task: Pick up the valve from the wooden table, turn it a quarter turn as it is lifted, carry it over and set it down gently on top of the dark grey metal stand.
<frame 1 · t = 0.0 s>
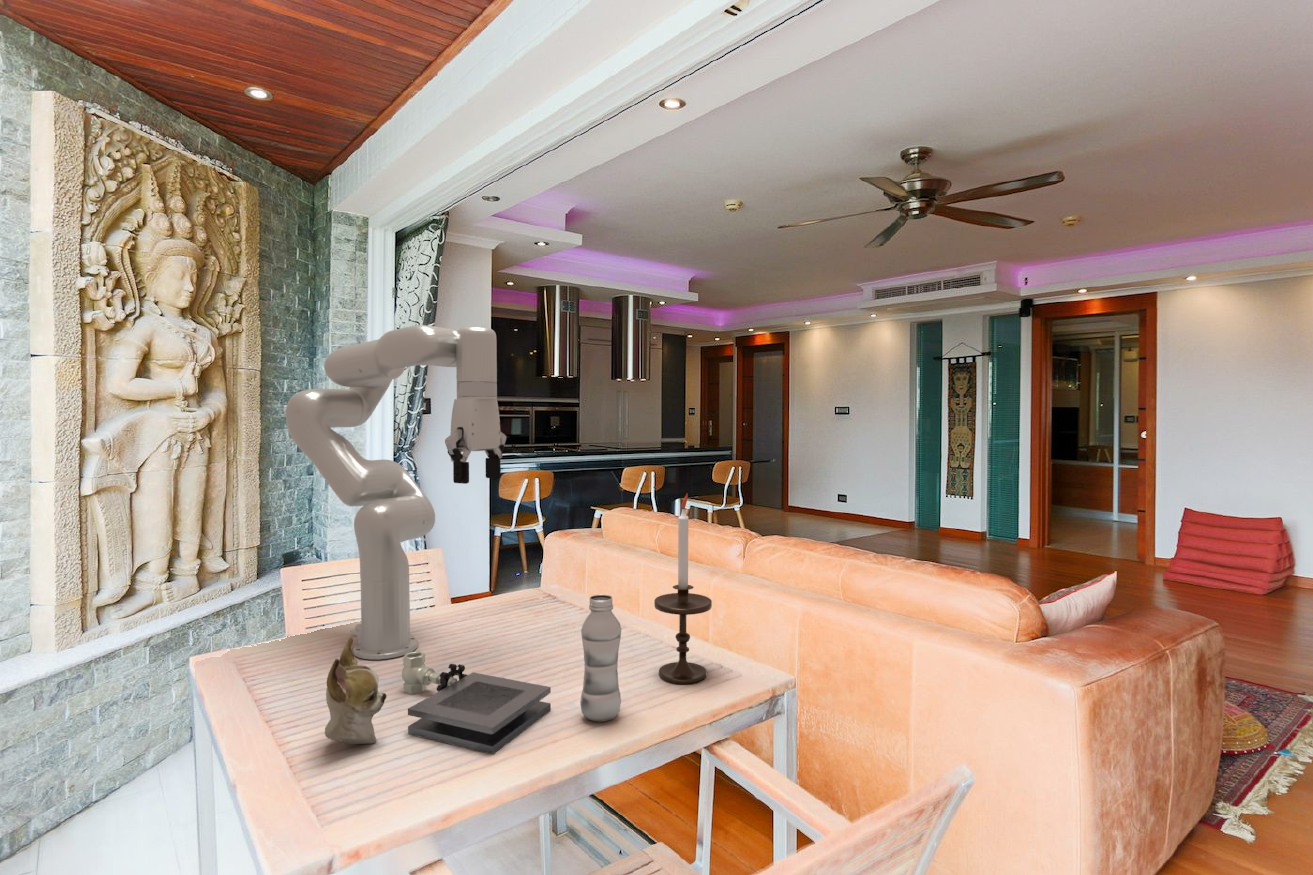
hand: (477, 480, 133), 37 cm above the table, tool pointing down, fingers open, 9 cm apart
candlestick: (682, 676, 131), on the table
plastic bottle: (600, 718, 113), on the table
stand: (482, 721, 112), on the table
valve: (430, 696, 122), on the table
ceramic sculpture: (356, 745, 104), on the table
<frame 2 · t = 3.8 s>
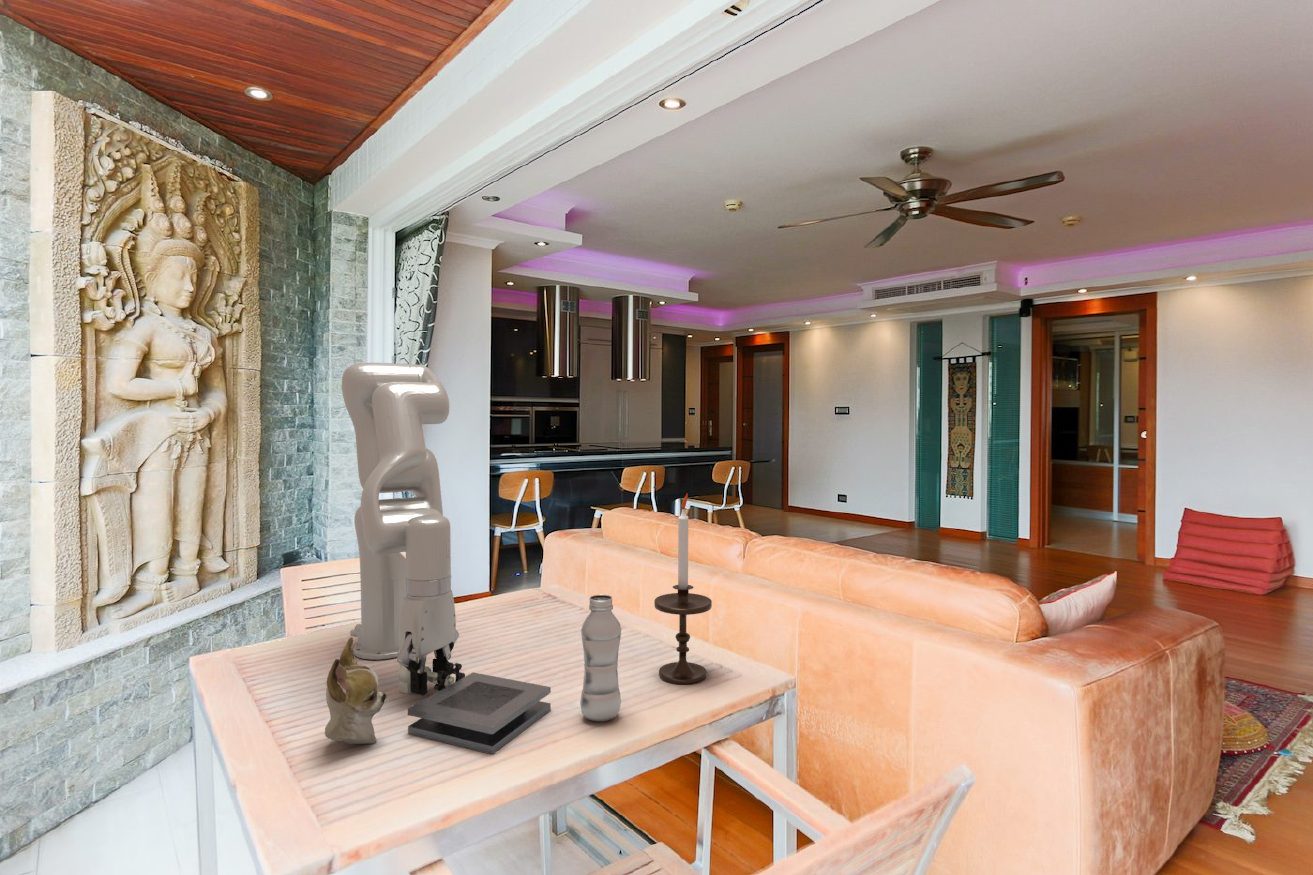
hand: (430, 686, 122), 1 cm above the table, tool pointing down, fingers closed on valve, 4 cm apart
valve: (426, 695, 123), on the table, touching gripper
everything else where it was.
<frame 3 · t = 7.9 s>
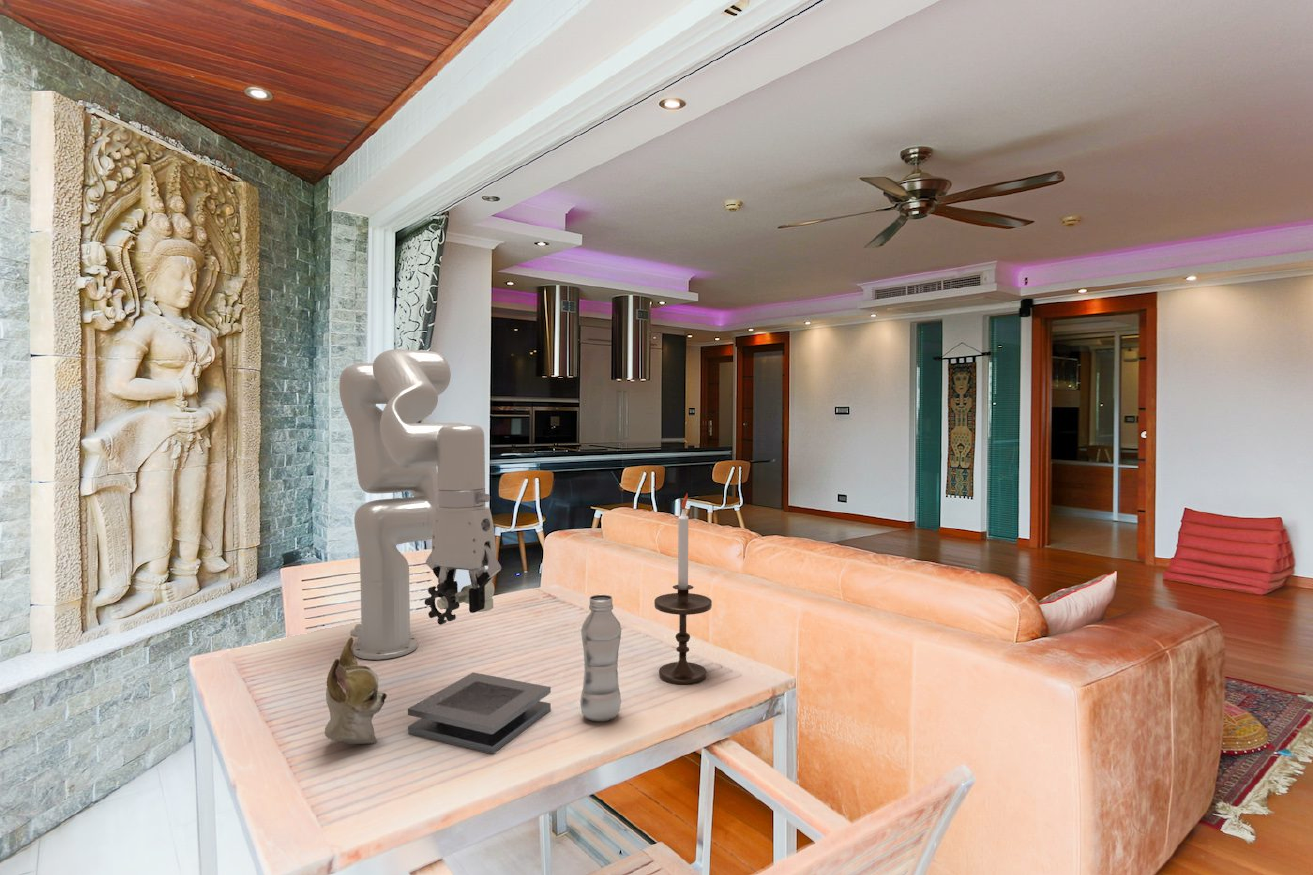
hand: (463, 607, 114), 18 cm above the table, tool pointing down, fingers closed on valve, 4 cm apart
valve: (466, 616, 115), point 16 cm above the table, touching gripper
everything else where it was.
when the fingers open (6 cm above the table, at t = 12.2 s): valve stays where it is, resting on stand.
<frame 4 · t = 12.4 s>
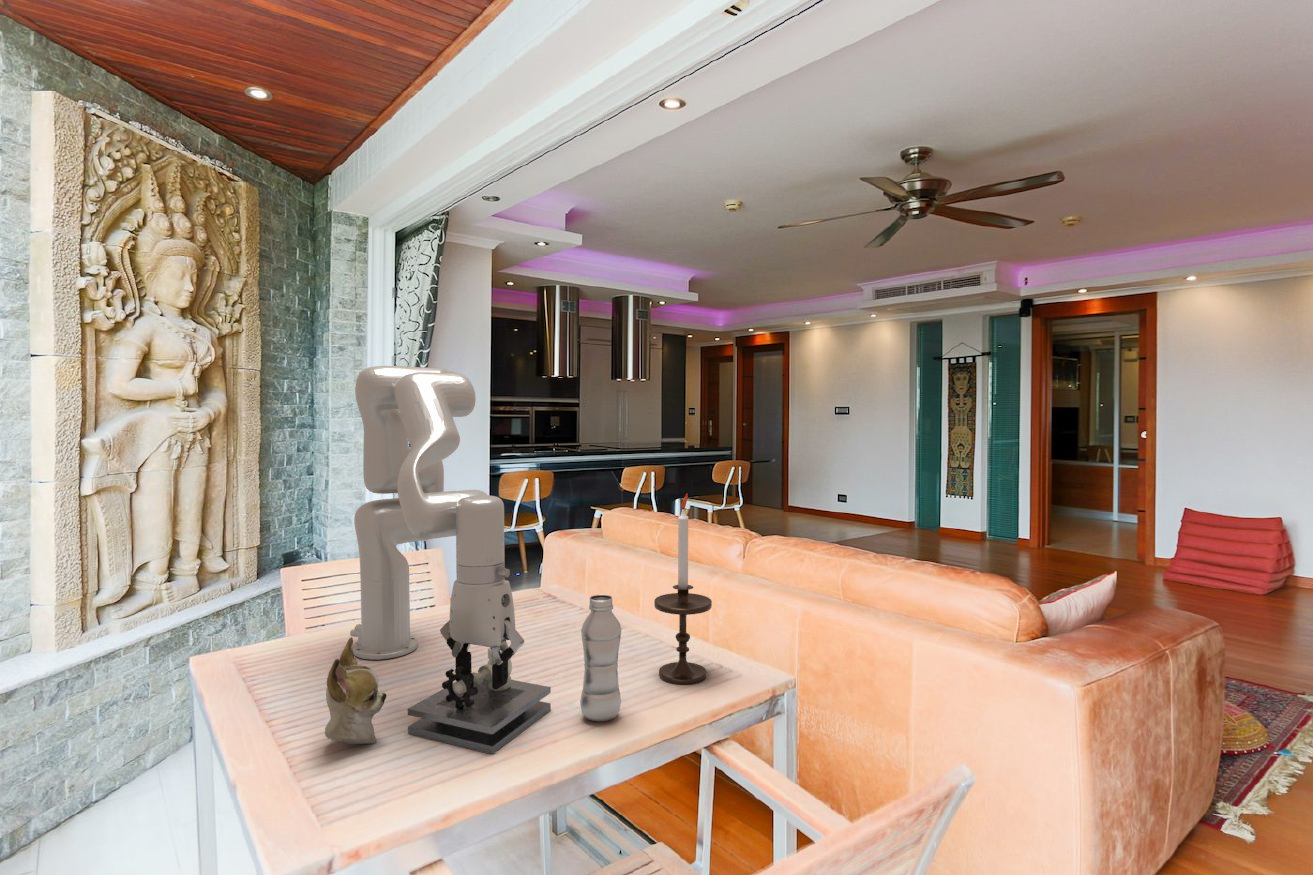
hand: (481, 681, 112), 7 cm above the table, tool pointing down, fingers open, 6 cm apart
valve: (483, 696, 112), point 4 cm above the table, touching stand
everything else where it was.
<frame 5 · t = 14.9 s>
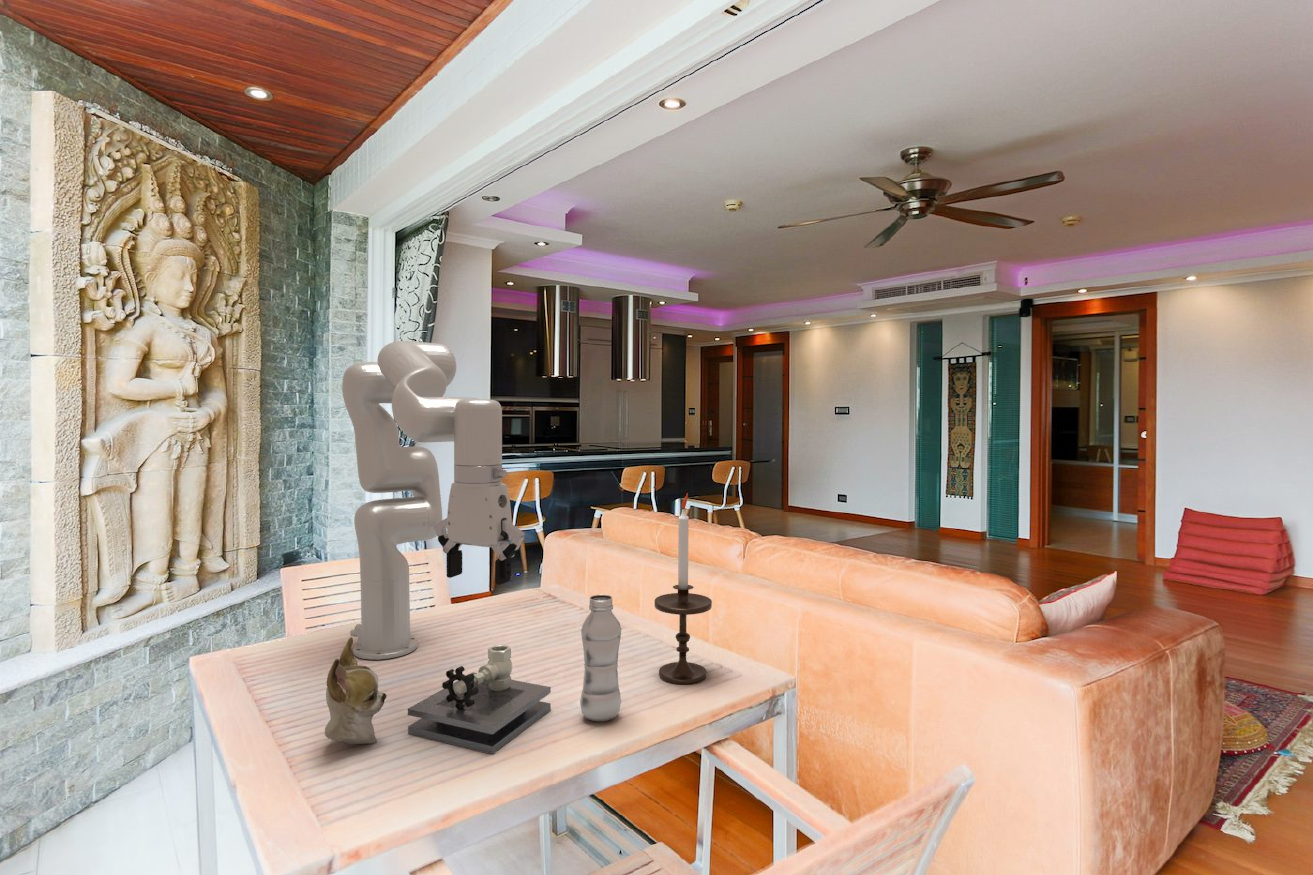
hand: (478, 579, 113), 23 cm above the table, tool pointing down, fingers open, 9 cm apart
nothing on the table moved.
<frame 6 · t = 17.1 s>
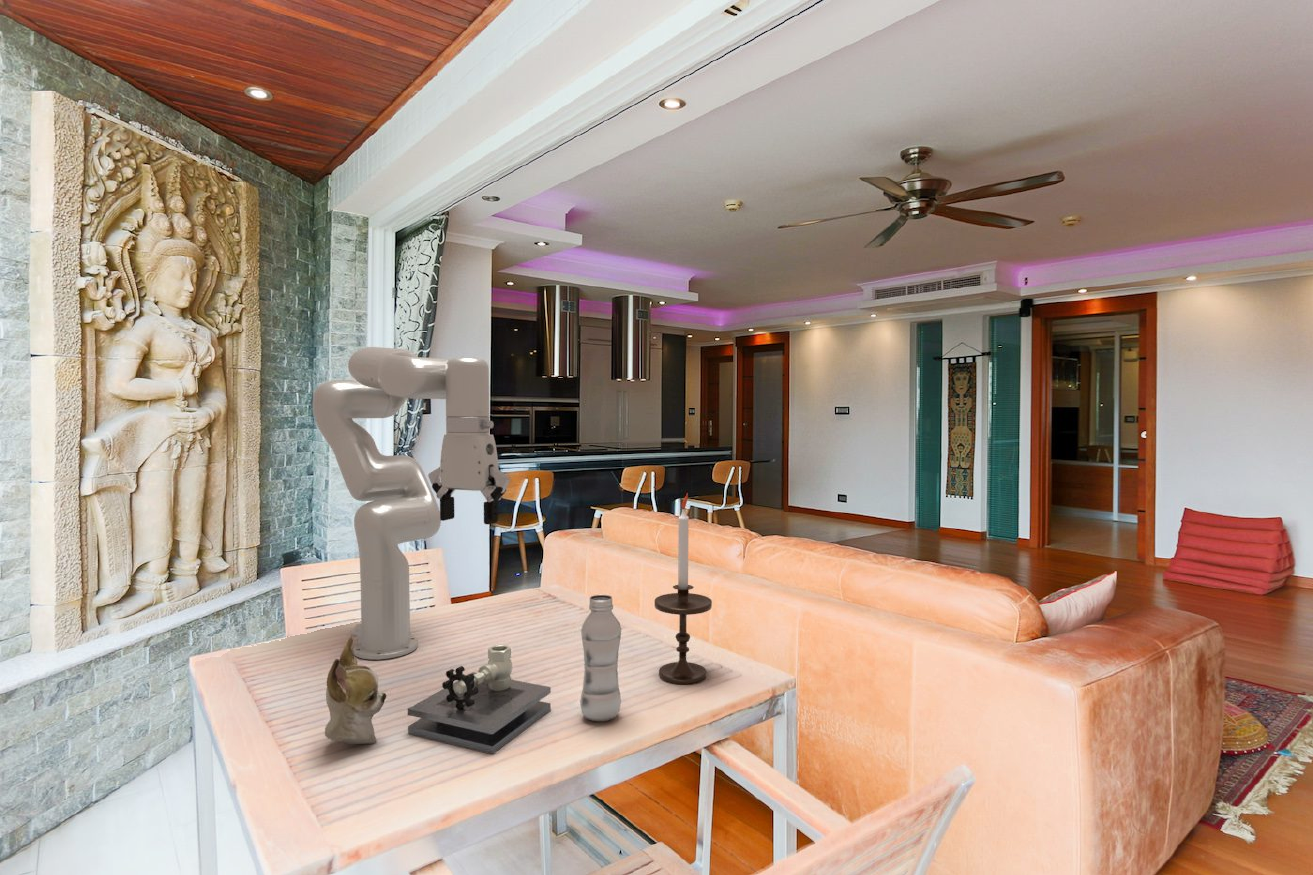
hand: (468, 521, 125), 30 cm above the table, tool pointing down, fingers open, 9 cm apart
nothing on the table moved.
at the end: valve inside the target area on the stand (0.8 cm from its centre), point 3.8 cm above the stand's base; valve touching stand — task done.
